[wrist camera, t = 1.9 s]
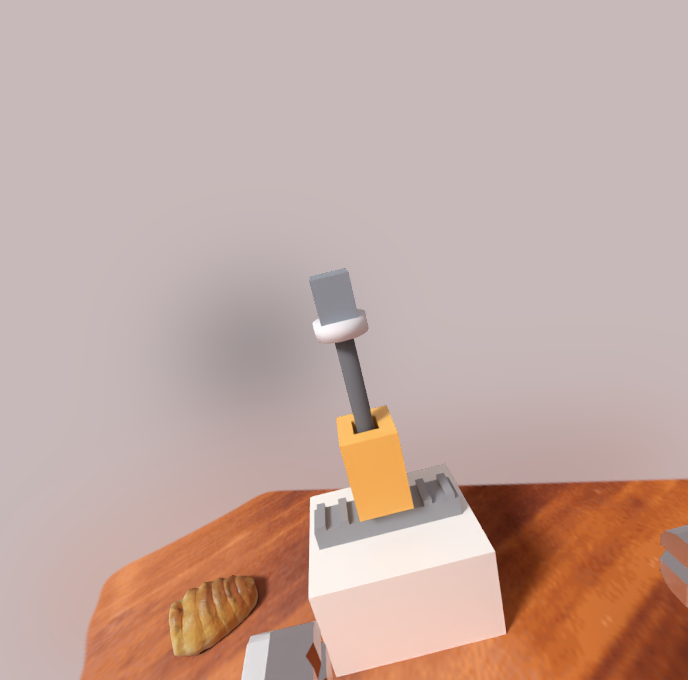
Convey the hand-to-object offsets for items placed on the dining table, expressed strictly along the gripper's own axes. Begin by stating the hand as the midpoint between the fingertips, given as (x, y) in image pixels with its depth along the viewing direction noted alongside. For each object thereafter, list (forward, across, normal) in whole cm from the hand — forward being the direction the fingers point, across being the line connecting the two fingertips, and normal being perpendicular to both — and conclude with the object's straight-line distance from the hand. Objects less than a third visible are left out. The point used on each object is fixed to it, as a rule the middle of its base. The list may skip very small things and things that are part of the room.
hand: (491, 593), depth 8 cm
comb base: (+23, -2, -29) cm, 37 cm away
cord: (+23, -2, -19) cm, 30 cm away
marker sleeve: (+23, -2, -16) cm, 28 cm away
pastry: (+25, -24, -30) cm, 46 cm away
